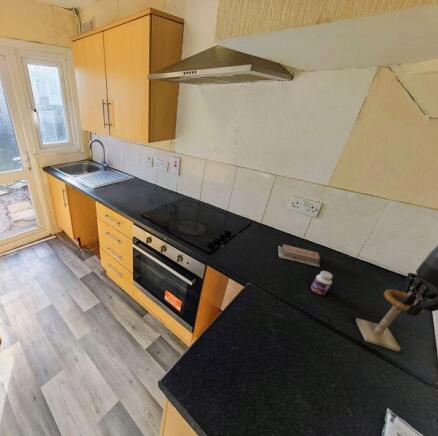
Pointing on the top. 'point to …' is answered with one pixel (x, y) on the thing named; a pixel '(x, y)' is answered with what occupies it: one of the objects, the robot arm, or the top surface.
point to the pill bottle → (322, 283)
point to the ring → (389, 296)
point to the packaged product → (299, 255)
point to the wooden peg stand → (380, 330)
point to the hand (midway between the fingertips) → (408, 310)
